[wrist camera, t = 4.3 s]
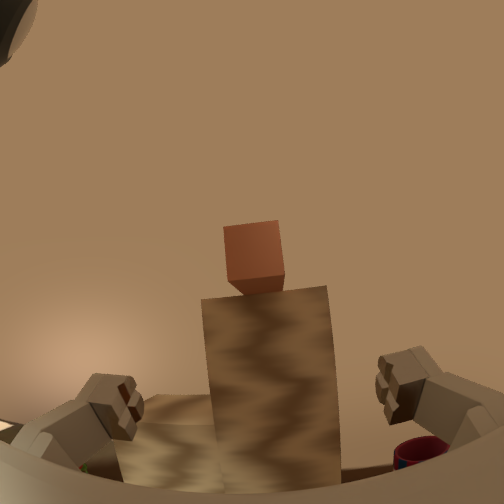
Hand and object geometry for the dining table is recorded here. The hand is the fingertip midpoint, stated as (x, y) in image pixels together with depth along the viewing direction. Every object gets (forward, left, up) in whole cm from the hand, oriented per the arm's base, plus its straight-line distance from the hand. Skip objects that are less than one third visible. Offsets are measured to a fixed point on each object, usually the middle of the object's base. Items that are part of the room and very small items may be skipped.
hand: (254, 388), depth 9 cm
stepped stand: (-5, +20, -22) cm, 30 cm away
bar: (0, +15, +4) cm, 16 cm away
